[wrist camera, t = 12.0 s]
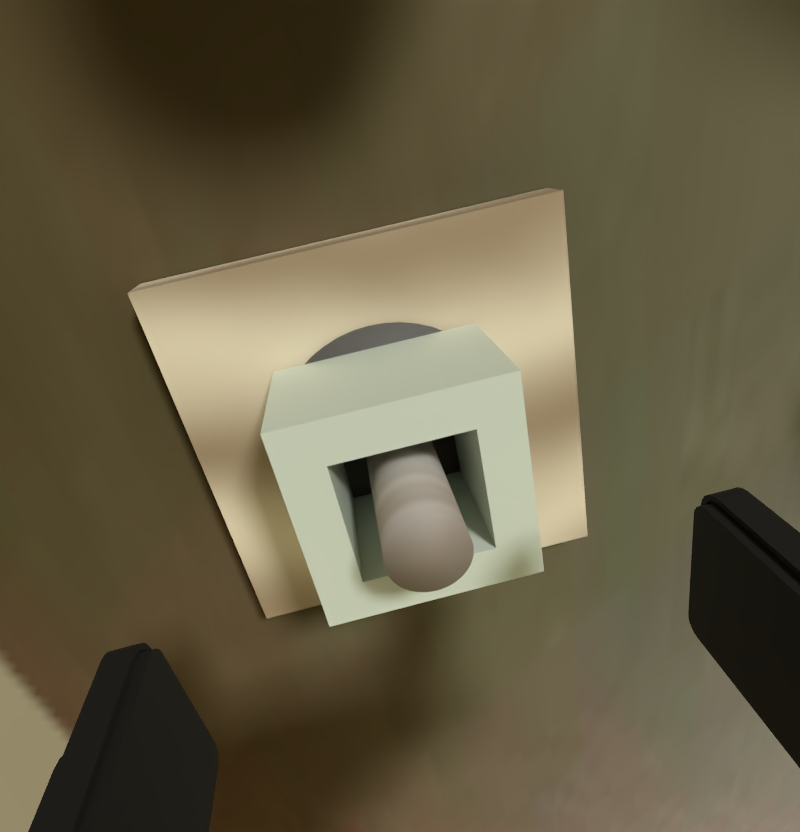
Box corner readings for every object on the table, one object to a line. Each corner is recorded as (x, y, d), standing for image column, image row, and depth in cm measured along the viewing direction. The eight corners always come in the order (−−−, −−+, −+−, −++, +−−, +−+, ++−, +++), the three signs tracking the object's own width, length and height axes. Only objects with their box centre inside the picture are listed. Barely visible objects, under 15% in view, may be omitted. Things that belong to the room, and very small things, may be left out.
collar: (272, 372, 16) (260, 434, 12) (475, 323, 16) (520, 370, 13) (327, 535, 19) (329, 626, 15) (500, 491, 19) (544, 571, 15)
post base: (140, 283, 16) (17, 371, 9) (546, 187, 16) (700, 208, 10) (269, 595, 21) (248, 789, 15) (573, 516, 21) (685, 671, 15)
